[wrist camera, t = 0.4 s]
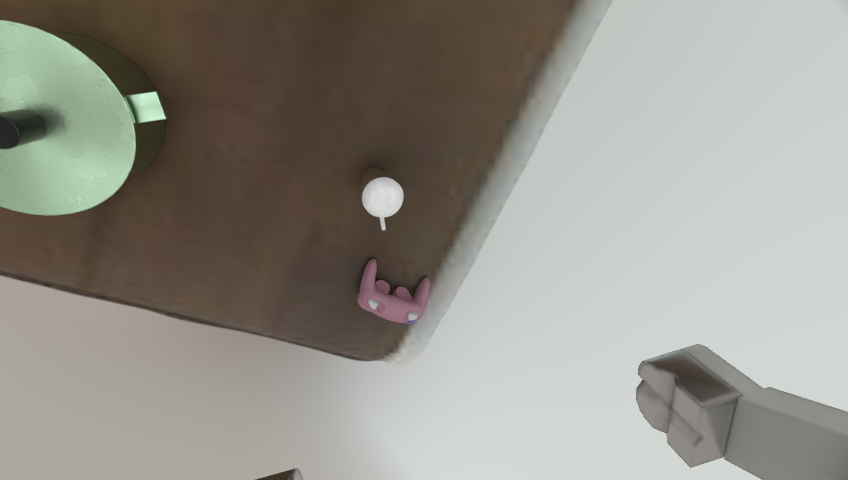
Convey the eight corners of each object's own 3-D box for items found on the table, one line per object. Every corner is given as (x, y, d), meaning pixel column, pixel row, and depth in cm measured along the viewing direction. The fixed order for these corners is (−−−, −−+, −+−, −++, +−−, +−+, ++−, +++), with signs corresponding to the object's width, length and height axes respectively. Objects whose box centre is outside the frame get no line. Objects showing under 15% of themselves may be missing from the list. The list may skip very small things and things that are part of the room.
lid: (-135, 34, 31) (-205, 29, 27) (94, 9, 34) (63, 1, 30) (-19, 226, 38) (-60, 247, 34) (167, 193, 40) (150, 208, 36)
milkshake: (354, 202, 54) (362, 229, 45) (356, 160, 52) (365, 181, 43) (389, 203, 55) (404, 230, 46) (392, 162, 53) (408, 183, 44)
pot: (-68, 48, 39) (-174, 45, 31) (162, 22, 42) (123, 12, 34) (14, 197, 45) (-55, 228, 37) (210, 164, 48) (188, 185, 40)
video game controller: (356, 273, 60) (351, 315, 55) (369, 254, 57) (365, 296, 52) (417, 293, 63) (417, 334, 59) (433, 276, 60) (434, 318, 56)
